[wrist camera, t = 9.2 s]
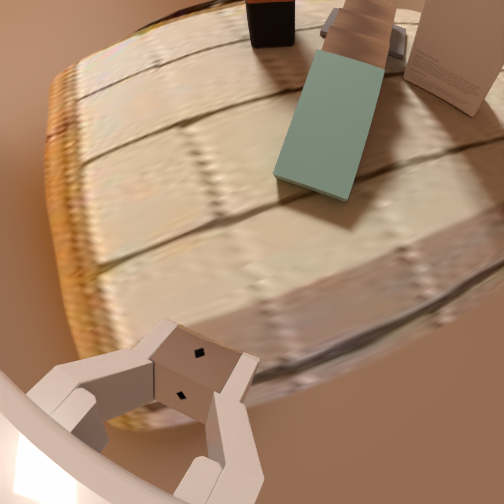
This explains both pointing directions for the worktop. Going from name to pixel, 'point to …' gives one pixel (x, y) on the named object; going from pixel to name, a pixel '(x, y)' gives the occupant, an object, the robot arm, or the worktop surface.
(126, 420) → the worktop surface
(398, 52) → the pad
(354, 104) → the domino end
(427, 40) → the skincare box
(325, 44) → the domino
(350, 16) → the domino
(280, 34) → the battery
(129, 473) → the robot arm
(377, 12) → the domino
